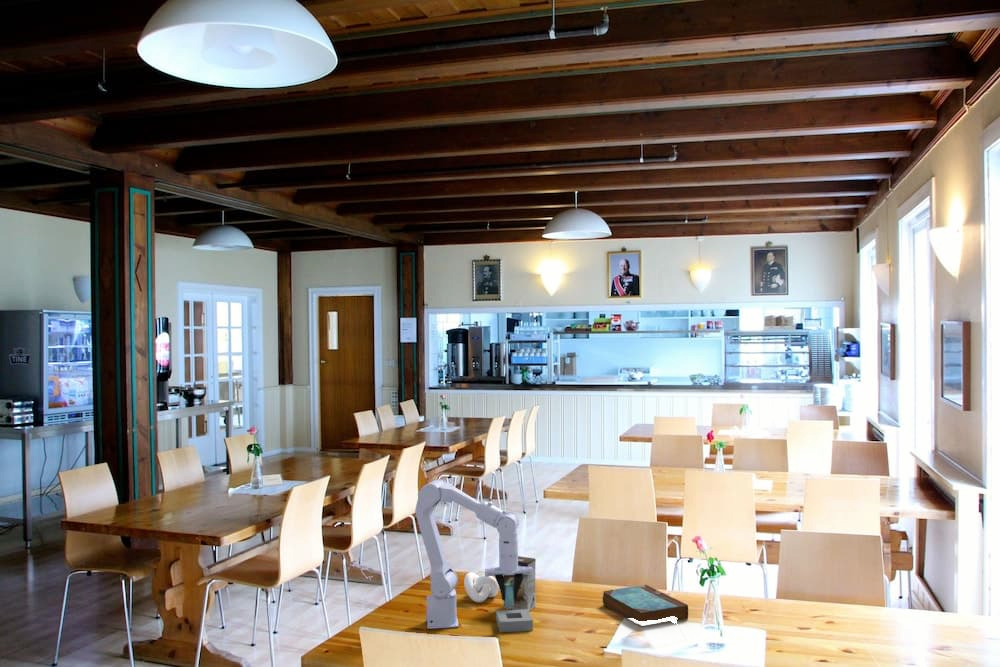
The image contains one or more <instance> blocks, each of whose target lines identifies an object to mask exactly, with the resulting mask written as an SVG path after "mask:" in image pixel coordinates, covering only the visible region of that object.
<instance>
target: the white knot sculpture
mask: <svg viewBox="0 0 1000 667" xmlns="http://www.w3.org/2000/svg"><path fill="white" fill-rule="evenodd" d="M485 569H486V568H484V569H481V570H479V571H478V572H476V573H475V572H471V571H470V572H468V573H466V575H465V576H464V579H463V583H464V589H465V592H466V593H467V596H468V597H469V598H470V599H471V600H472V601H474V602H475V603H483V602H484V601H486V600H487V599H488V598H493V597H496V596H497V595H498V594H499V590H500V587H499V585H498V583H497V581H496V578H495V576H489V577H485Z"/></svg>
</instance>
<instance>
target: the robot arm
mask: <svg viewBox="0 0 1000 667" xmlns="http://www.w3.org/2000/svg"><path fill="white" fill-rule="evenodd" d="M446 502H453V503H455V504H457V505H459V506H461V507H464V508H466V509H468V510H470V511H471V512H474V513H475V516H476V519H478V520H480V521H482V522H484V523H485V524H487V525H489V526H491V527H493V528H494V529H496V531H497V532H498V536H499V537H498V558H499V559H498V562H499V563H498V566H497V567H491V568H484V569H485V577H489V576H493V577H494V578H495V579H496V581H497V583H498V585H499V590H500V595H501V601H504V600H505V594H504V575H513V579H514V600H517V594H518V590H519V587H520V584H521V582H522V580H523V575H524V574H529V575H533V568H532V567H521V566H518V556H519V550H518V548H519V545H518V544H519V542H518V540H519V539H518V530H517V529H518V528H519V525H520V521H519V517H518V516H517V515H516V514H515V513H514V512H512V511H511V512H510V511H508V510H506V509H501V508H499V507H497V506H495V505H494V502H492V501H491V500H490V501H486V500H485V501H482V502H480V501H478V500H477V499H475V498H473V497H472V496H470V495H468V494H467V493H465V492H464V491H462V490H461V489H458V488H457V487H455V486H454V485H453V484H451V483H449V482H446V481H444V480H443V479H441V478H435V479H434V480H432V481H431V482H429V483H426V484H424V485H423V486H422V487H421V489H420V490H419V491H418V493H417V501H416V505H415V511H414V513H415V516H416V517H415V518H416V521H417V523H418V527H419V530H420V534H421V537H422V541H423V543H424V548H425V550H426V555H427V559H428V561H429V564H430V573H429V577H430V580H431V581H430V591H431V593H432V595H427V596H426V614H425V621H426V624H427V625H426V626H427V630H428V629H429V630H430V629H431V630H432V629H449V628H459V627H460V626H459V620H458V616H457V612H458V611H457V591H456V587H457V585H458V583H459V577H458V574H457V573H456V572H455V571H454V569H453V566H452V564H451V563H450V562H449V561H448V560H447V556H446V553H445V550H444V546H443V541H442V538H441V536H440V535H441V534H440V531H439V530H438V528H439V527H438V525H437V522H436V519H435V515H434V511H435V509H436V507H437V506H438V504H439V503H446ZM507 511H508V512H507Z"/></svg>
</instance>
